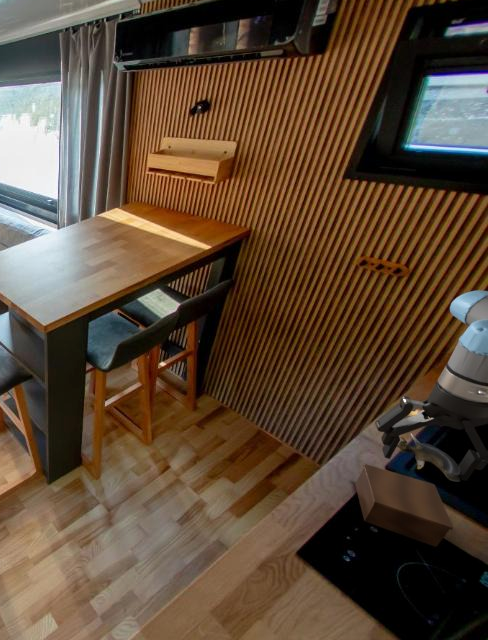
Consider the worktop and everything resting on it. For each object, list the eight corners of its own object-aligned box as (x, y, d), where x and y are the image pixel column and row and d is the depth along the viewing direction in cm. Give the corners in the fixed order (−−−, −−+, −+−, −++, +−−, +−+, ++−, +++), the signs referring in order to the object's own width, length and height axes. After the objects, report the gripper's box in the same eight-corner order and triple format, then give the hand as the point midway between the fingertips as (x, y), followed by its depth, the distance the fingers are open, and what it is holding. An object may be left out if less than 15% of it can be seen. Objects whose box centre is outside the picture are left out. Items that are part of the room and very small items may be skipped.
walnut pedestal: (421, 504, 88) (434, 484, 85) (438, 548, 80) (453, 528, 77) (353, 483, 95) (363, 463, 91) (363, 521, 87) (374, 501, 84)
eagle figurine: (390, 460, 82) (456, 485, 74) (398, 430, 82) (466, 452, 74) (398, 459, 85) (462, 483, 77) (406, 431, 85) (471, 452, 77)
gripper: (386, 385, 75) (352, 455, 85) (583, 425, 62) (516, 503, 72) (377, 364, 81) (346, 432, 90) (558, 397, 67) (499, 473, 77)
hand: (421, 464), depth 81 cm, fingers closed on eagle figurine, 10 cm apart
